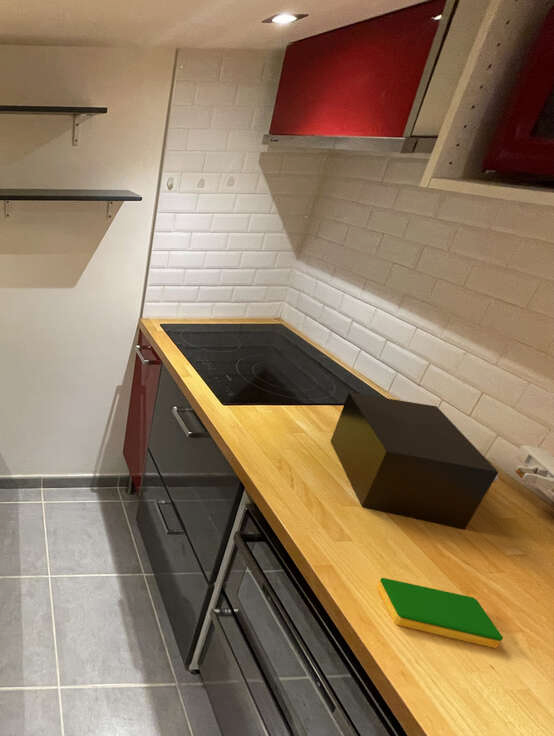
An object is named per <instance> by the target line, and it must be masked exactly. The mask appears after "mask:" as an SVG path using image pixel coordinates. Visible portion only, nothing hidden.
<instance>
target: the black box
mask: <svg viewBox="0 0 554 736" xmlns="http://www.w3.org/2000/svg"><path fill="white" fill-rule="evenodd" d="M330 443H331V446H332V448H333V450H334V452H335V454H336V456H337V459H338V460H339V462H340V465H341V466H342V468H343V471H344V473H345V474H346V477H347V479H348V481H349V484H350V485H351V487H352V489H353V491H354V492H353V493H354V494H355V496H356V498H357V500H358V502H359V504H360V506H361V507H362V508H364V509H369V510H374V511H378V512H383V513H387V514H390V515H391V514H392V515H395V516H400V517H405V518H409V519H414V520H418V521H423V522H428V523H433V524H436V525H440V526H441V525H442V526H445V527H451V528H455V529H459V530H463V531H465V530H466V528H467V527H468V525H469V524H470V521H472V518H473V517H474V515H475V513H476V511H477V510H478V508H479V506H480V505H481V503H482V501H483V500H484V498H485V496H486V494H487V493H488V491H489V489H490V488H491V486H492V485H493V483H497V481H498V480H499V475H498V474H499V471H498V470H497V468H495V467H494V465H493V464H492V463H491V462H490V461H489V460H488V459H487V458H486V457H485V456H484V455H483V454H482V453H481V452H480V451H479V450H478V448H477V447H476V446H475V445H474V444H473V443H472V442H471V441H470V440H469V439H468V438H467V437H466V436H465V435H464V434H463V432H461V430H459V428H458V427H457V426H456V424H454V423H453V422H452V421H451V419H449V418H448V416H446V414H445V413H444V412H443V411H442V410H441V409H440V408H439V407H438V406H437V405H431V404H425V403H418V402H413V401H406V400H399V399H393V398H388V397H381V396H374V395H367V394H361V393H355V392H350V391H349V392H348V393H347V395H346V399H345V402H344V404H343V407H342V410H341V412H340V414H339V417H338V420H337V423H336V425H335V427H334V431H333V434H332V436H331V439H330Z"/></svg>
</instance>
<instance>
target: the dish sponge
mask: <svg viewBox="0 0 554 736" xmlns="http://www.w3.org/2000/svg"><path fill="white" fill-rule="evenodd" d="M376 589H377V591H378V593H379V595H380V598H381V599H382V601H383V603H384V605H385V608H386V609H387V612H388V613H389V615H390V617H391V620H392V621H393V623H394V624H396V625H397V626H400V627H405V628H409V629H413V630H417V631H422V632H425V633H429V634H433V635H438V636H442V637H447V638H450V639H456V640H459V641H464V642H468V643H472V644H475V645H476V644H477V645H480V646H485V647H489V648H492V649H496V648H497V647H498V646H499V644H500V643H501V642H502V640H503V639H504V637H503V635H502V634H501V633H500V631H499V629H498V627H496V625H495V624H494V622H493V621H492V619H491V618H490V616H489V615H488V614H487V613H486V611H485V609H484V608H483V607H482V605H481V603H480V602H479V601H478V599H477V598H475V597H473V596H468V595H464V594H460V593H455V592H450V591H446V590H441V589H436V588H432V587H428V586H422V585H419V584H413V583H408V582H404V581H401V580H396V579H390V578H386V577H381V578H380V580H379V582H378V583H377V586H376Z"/></svg>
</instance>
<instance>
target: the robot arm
mask: <svg viewBox="0 0 554 736" xmlns="http://www.w3.org/2000/svg"><path fill="white" fill-rule="evenodd" d="M543 448H544V447H541V446H538V445H537V446H535V445H531V444H524V445H522V446H521V447H520V448H519V450H518V451H517V453H516V456H515V457H516V459H517V460H518V461H519V462H520V463H521V464H523V465H517V466H516V467H515V469H514V472H515V474H516V475H517V476H519V478H520V479H521V480H523V482H526V483H532V484H534V485H536V486H539V487H542V488H544V489H545V490H550V491H551V492H552V493H554V456H553V454H552V453H550V452H548V451H546V450H545V449H543Z"/></svg>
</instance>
